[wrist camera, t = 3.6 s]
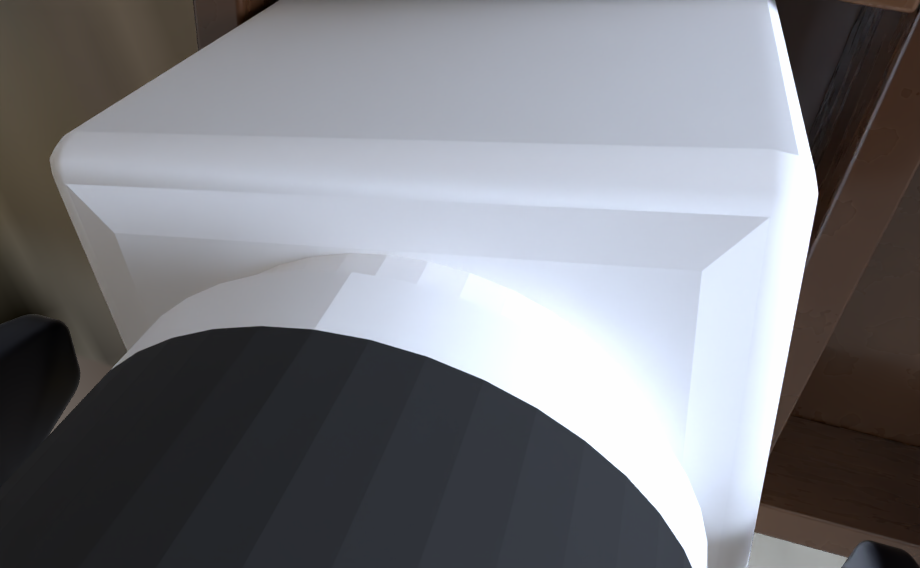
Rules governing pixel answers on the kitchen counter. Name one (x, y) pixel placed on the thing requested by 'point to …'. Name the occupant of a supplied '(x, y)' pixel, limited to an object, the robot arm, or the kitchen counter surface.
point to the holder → (834, 278)
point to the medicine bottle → (435, 292)
